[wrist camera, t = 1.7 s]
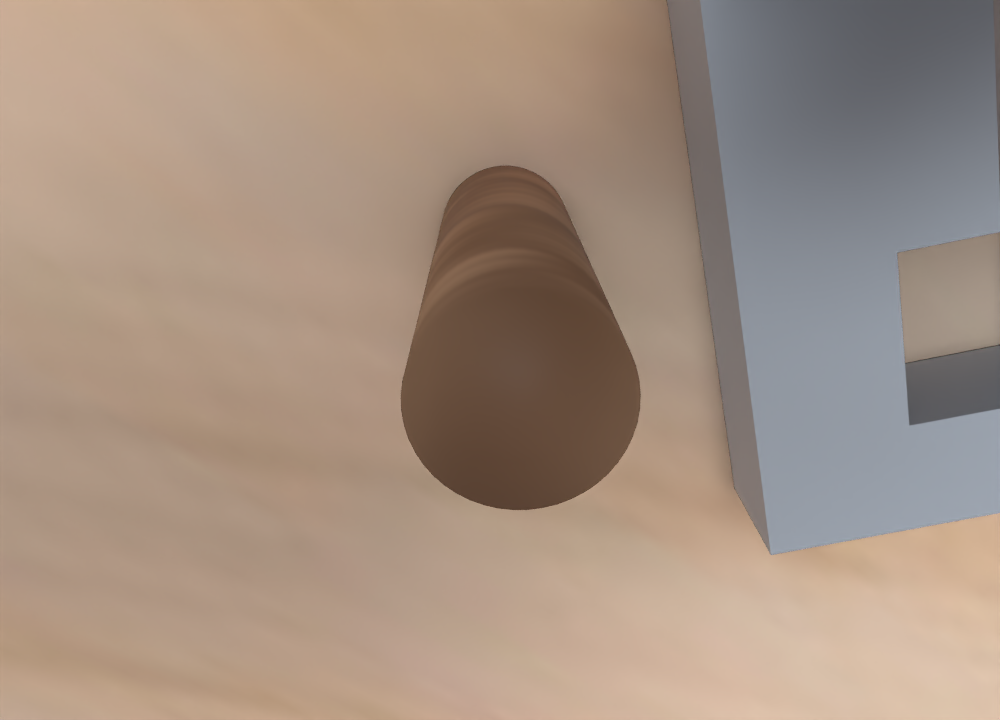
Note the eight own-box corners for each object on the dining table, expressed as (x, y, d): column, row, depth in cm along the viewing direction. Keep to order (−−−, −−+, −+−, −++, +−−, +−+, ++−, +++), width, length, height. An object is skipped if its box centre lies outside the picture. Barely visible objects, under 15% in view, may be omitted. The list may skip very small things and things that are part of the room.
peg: (457, 301, 31) (430, 528, 17) (429, 180, 30) (374, 312, 15) (578, 277, 31) (656, 485, 16) (555, 153, 29) (620, 263, 15)
